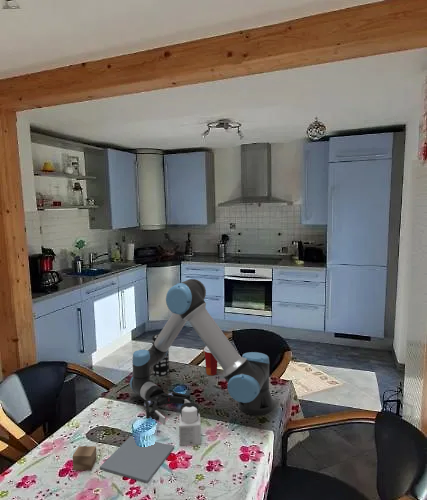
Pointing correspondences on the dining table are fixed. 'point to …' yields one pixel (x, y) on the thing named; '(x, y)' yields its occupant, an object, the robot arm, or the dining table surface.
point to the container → (189, 425)
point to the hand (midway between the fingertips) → (180, 414)
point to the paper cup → (210, 362)
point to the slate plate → (137, 460)
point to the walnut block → (84, 458)
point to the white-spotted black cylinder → (161, 363)
